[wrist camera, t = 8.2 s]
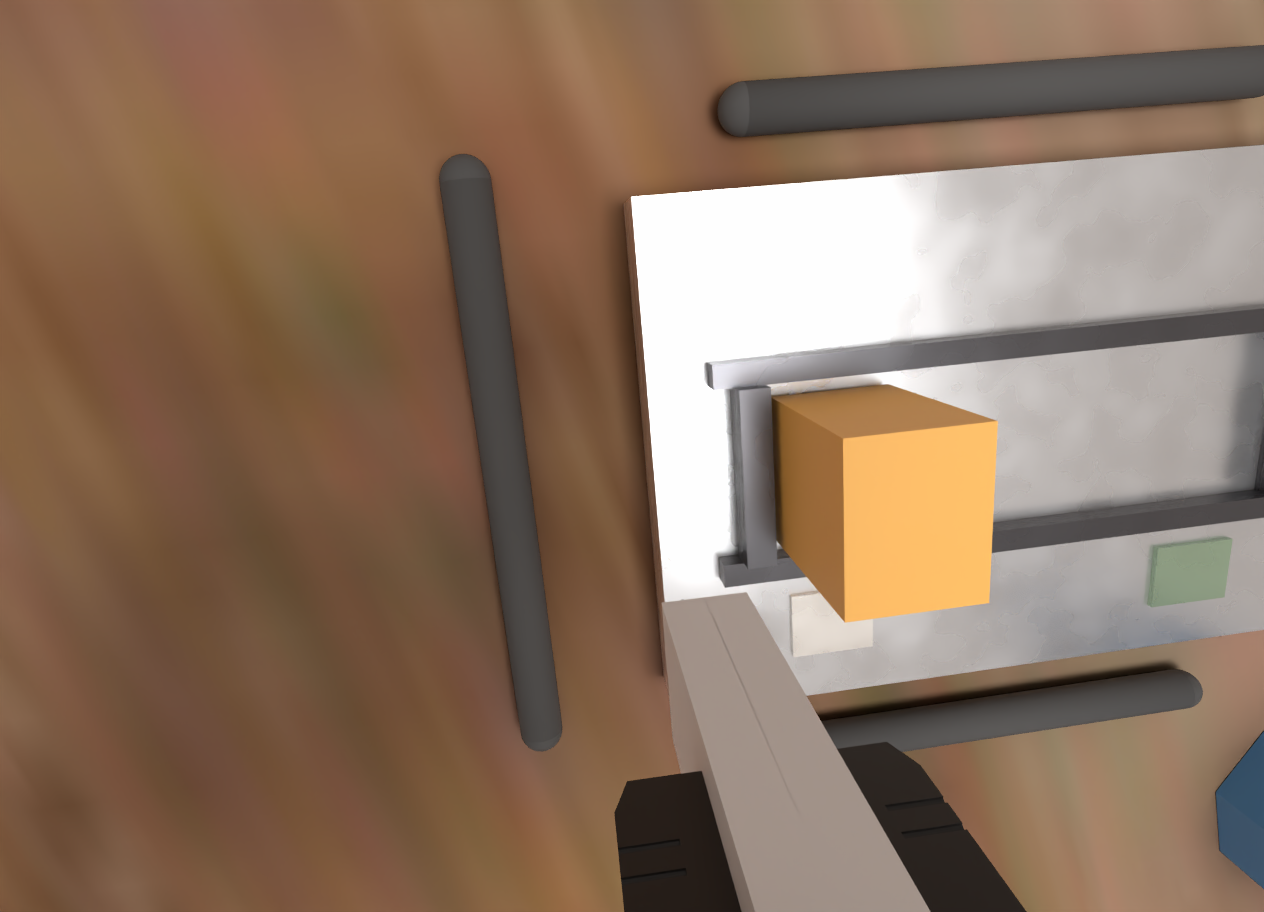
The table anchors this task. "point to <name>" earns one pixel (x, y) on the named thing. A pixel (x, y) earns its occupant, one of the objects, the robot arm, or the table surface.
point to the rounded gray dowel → (501, 442)
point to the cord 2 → (1019, 712)
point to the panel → (973, 393)
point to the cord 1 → (990, 90)
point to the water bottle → (1244, 813)
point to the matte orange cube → (885, 499)
